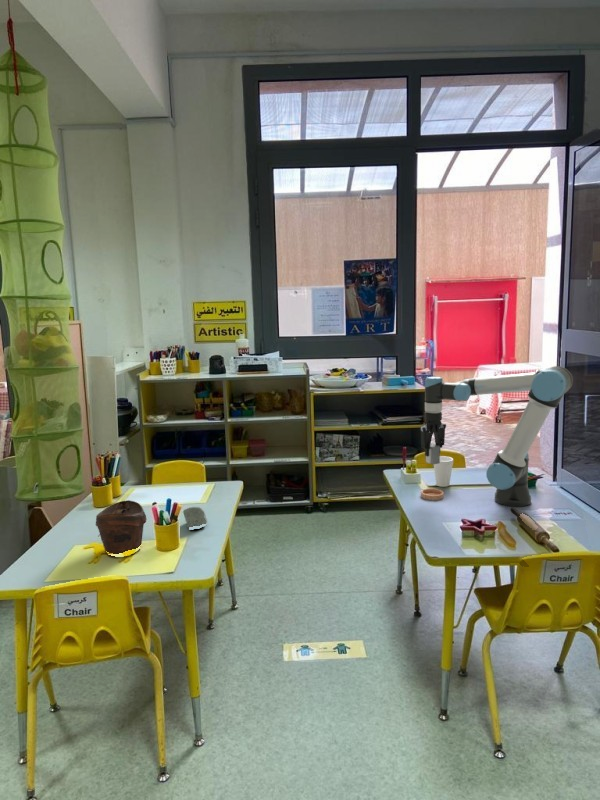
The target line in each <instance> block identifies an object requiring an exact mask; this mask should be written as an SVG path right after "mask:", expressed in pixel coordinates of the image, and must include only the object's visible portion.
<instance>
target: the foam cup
mask: <svg viewBox="0 0 600 800" xmlns="http://www.w3.org/2000/svg"><path fill="white" fill-rule="evenodd" d="M453 465H454V458H453V457H451V456H448V455H447V456H445V455H440V463H438V464H433V470H434V471H433V472H434V478H435V485H436V486H438V487H441V488H442V487H443V488H444V487H445V488H446V487H450V483H451V480H452V479H451V478H452V471H453Z"/></svg>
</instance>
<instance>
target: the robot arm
mask: <svg viewBox="0 0 600 800" xmlns="http://www.w3.org/2000/svg"><path fill="white" fill-rule="evenodd" d="M573 381H574V379H573V375H572V373H571V372H570V371H569V370H568V369H567V368H566V367H563V366H560V365H558V366H557V365H554V366H551V367H547V368H542V369H536V370H535V371H534V372H525V373H516V374H506V375H494V376H487V377H486V376H484V377H476V378H472V377H471V378H469V377H467V378H464V379H462V380H459V381H456V382H445V381H443V377H442V376H441V377H440V376H428V377H426V378H425V382H424V421H425V423H424V424H423V425H422V426H419V430H420V447H421V448H422V449H424V456H426V462H425V463H427V464H430V463H431V449H430V445H431V444H432V438H433V437H434V444H435V445H438V446H440V449H442V448H443V446H445V439H446V438H445V436H446V427H447V424H446V423H443V422H442V419H443V412H442V411H443V400H449V401H457V402H467V401H468V400H470V397H471V396H479V395H480V396H482V395H491V394H492V395H493V394H494V395H495V394H507V393H520V392H521V393H522V392H528V394H527V398H528V403H527V405H526V406H525V408H524V411H523V412H522V414H521V416H520V418H519V420H518V422H517V424H516V426H515V428H514V430H513V431H512V433H511V436H510V437H509V439H508V440H507V443H506V445H505V447H504V448H503V449H501V450H499V451H498V452H497V454H496V456H495V458H494V459H493V462H492V463H491V464H489V466H488V467H487V469H486V478H487V481H488V482H489V484H490V485H491V486H492V487H493V488H495V489H496V491H495V493H494V501H495V502H496V503H498V504H501V505H504V506H509V507H514V508H515V507H517V508H518V507H526V506H529V505H531V504H532V496H531V494H530V490H529V487H528V484H529V483H528V479H529V477H528V476H529V460H530V458H529V455H530V454H529V451H530V450H531V447H532V445H533V444H534V442H535V439H536V438H537V436H538V434H539V432H540V431H541V429H542V427H543V425H544V423H545V421H546V420H547V417H548V415H549V414H550V412H551V410H553V409H557V408H558V406H559V404H560V402H561V400H562V398H563V397H564V395H565V394H566V393H567V392H568V391H569V390H570V389H571V388H572V386H573Z"/></svg>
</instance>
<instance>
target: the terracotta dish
mask: <svg viewBox="0 0 600 800" xmlns="http://www.w3.org/2000/svg"><path fill="white" fill-rule="evenodd" d="M444 496H445V493H444V491H443V490H441V489H438V488H434V487H433V488H432V487H431V488H428V487H427V488H423V489H421V490H420V497H421V498H422V499H424V500H428V501H438V500H439V501H440V500H443V498H444Z"/></svg>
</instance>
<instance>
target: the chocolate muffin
mask: <svg viewBox="0 0 600 800" xmlns="http://www.w3.org/2000/svg"><path fill="white" fill-rule="evenodd" d="M95 517H96V518H95V526H96V527H97V529H98V533H99V535H97V538H99V537H100V540H101V542H102V546H103V548H104V551H105V550H106V551H107V552H109V553H113V554H119V553H123V552H125V551H128V550H132V549H136V548H138V547H139V546H140V545H141V544H142V545H143V543H142V542H143V534H144V533H143V532H144V525H145V524H146V523H147V520H148V519H147V514H146V513H145V510H144V508H143V506H142V505H141V503H139V502H137V501H134V500H129V499H128V500H121V501H118V502H116V503H113V504H111V505H109V506H107V507H106V508H104V509H103V510H102V511H100V512H99V513H98V514H96V516H95ZM106 556H107V557H109V558H114V559H117V558H116V557H115V556H111V555H108V554H106Z"/></svg>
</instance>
